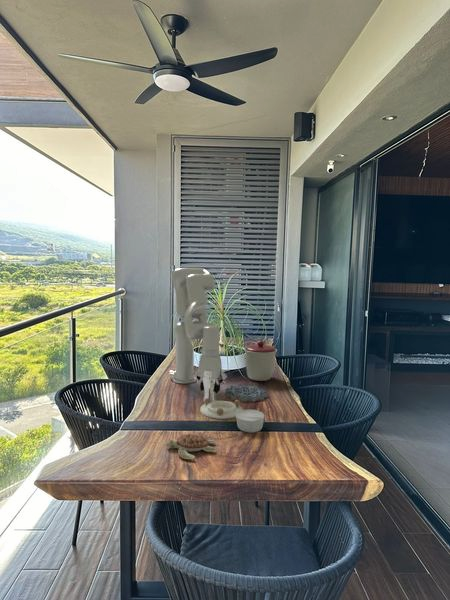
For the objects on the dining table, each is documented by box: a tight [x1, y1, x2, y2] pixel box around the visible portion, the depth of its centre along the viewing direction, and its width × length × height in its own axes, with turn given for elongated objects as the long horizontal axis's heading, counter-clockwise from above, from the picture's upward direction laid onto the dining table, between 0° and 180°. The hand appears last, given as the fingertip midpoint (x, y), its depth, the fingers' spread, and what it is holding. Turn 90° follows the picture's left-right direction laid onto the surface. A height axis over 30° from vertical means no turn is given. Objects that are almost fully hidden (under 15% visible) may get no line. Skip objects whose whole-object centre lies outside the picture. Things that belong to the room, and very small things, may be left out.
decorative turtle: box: [166, 433, 217, 460], centre depth 134 cm, size 18×17×5 cm
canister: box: [243, 340, 278, 382], centre depth 216 cm, size 18×18×21 cm
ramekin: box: [235, 408, 265, 433], centre depth 152 cm, size 11×11×5 cm
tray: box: [199, 398, 244, 420], centre depth 168 cm, size 18×18×4 cm
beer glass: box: [202, 370, 217, 403], centre depth 179 cm, size 7×7×15 cm
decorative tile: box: [225, 384, 269, 403], centre depth 189 cm, size 20×20×2 cm
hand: (209, 391), depth 179 cm, fingers closed on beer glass, 6 cm apart
